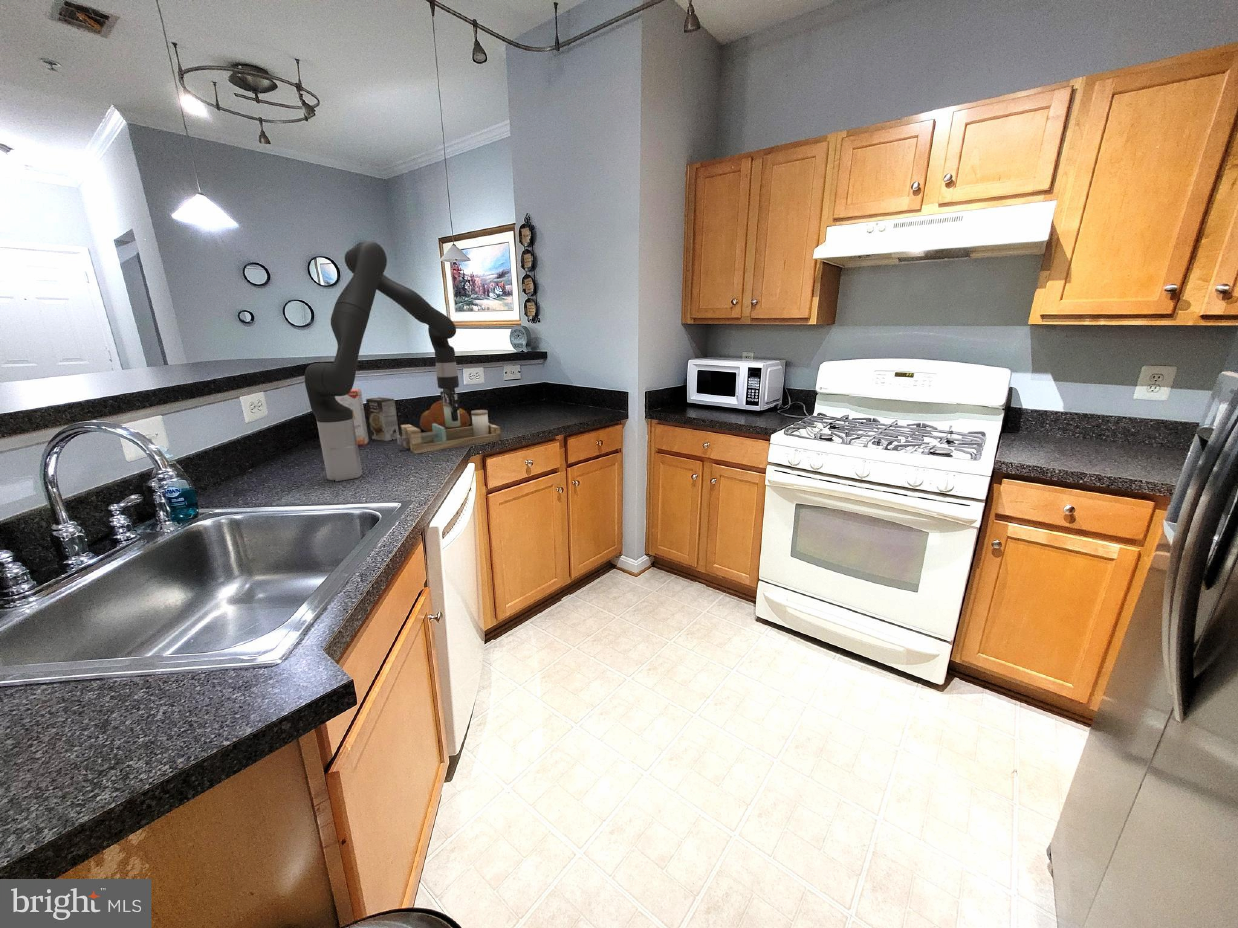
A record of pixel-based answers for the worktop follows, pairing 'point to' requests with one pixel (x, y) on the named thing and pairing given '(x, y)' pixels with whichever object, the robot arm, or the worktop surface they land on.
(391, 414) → the coffee box
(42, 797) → the worktop surface
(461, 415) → the bread
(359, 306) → the robot arm
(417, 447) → the wooden tray
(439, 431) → the pusher
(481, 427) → the jar cream
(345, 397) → the cracker box
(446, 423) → the jar sage
